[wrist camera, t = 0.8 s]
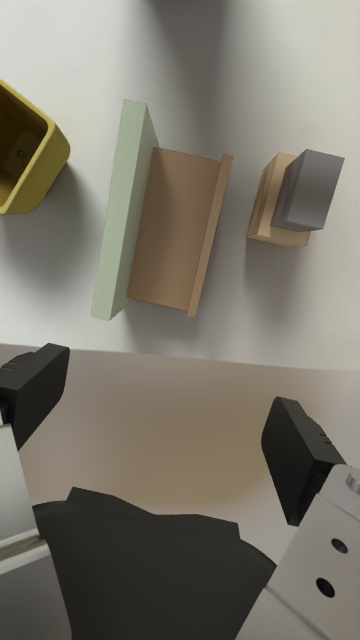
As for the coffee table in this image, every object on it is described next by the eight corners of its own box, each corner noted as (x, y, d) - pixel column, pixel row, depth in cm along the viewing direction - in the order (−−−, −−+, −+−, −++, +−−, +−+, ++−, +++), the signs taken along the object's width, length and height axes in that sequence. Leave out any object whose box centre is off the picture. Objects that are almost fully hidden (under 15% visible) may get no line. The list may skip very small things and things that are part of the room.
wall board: (145, 147, 33) (123, 98, 22) (225, 166, 33) (243, 126, 22) (119, 296, 36) (90, 316, 25) (192, 312, 36) (193, 338, 26)
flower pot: (92, 156, 33) (57, 123, 24) (49, 224, 35) (1, 217, 26) (22, 99, 32) (-42, 43, 23) (-20, 173, 34) (-93, 147, 25)
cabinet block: (263, 169, 33) (298, 131, 22) (305, 179, 33) (361, 145, 22) (245, 237, 34) (271, 231, 24) (286, 246, 34) (330, 244, 24)
